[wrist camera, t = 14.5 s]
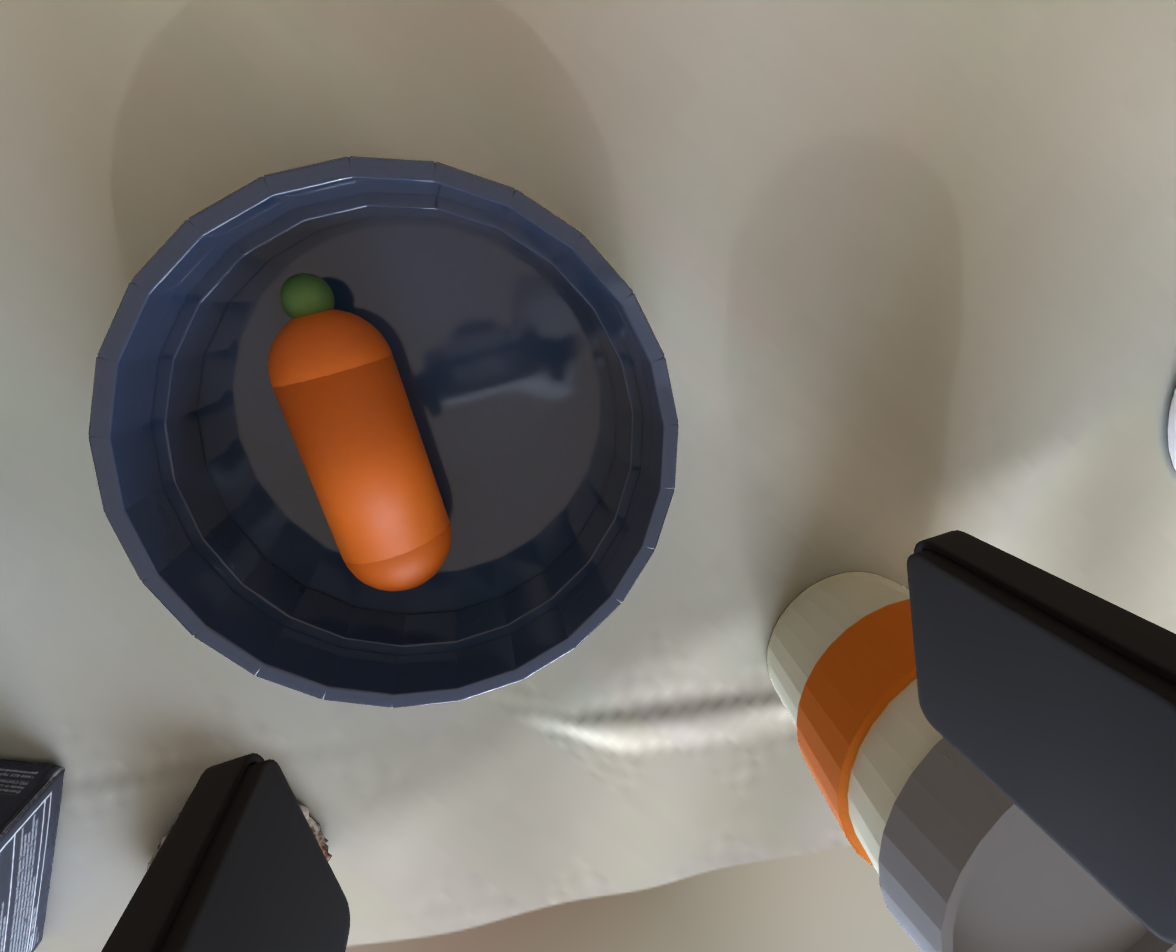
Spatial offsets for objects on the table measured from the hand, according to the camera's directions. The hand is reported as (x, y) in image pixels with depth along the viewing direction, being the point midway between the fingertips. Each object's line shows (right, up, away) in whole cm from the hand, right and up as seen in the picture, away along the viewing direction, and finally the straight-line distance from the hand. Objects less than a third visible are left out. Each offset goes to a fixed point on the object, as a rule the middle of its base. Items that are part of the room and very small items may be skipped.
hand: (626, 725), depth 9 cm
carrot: (-9, +4, +15) cm, 18 cm away
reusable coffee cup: (+14, -6, +26) cm, 30 cm away
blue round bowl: (-8, +6, +18) cm, 20 cm away
